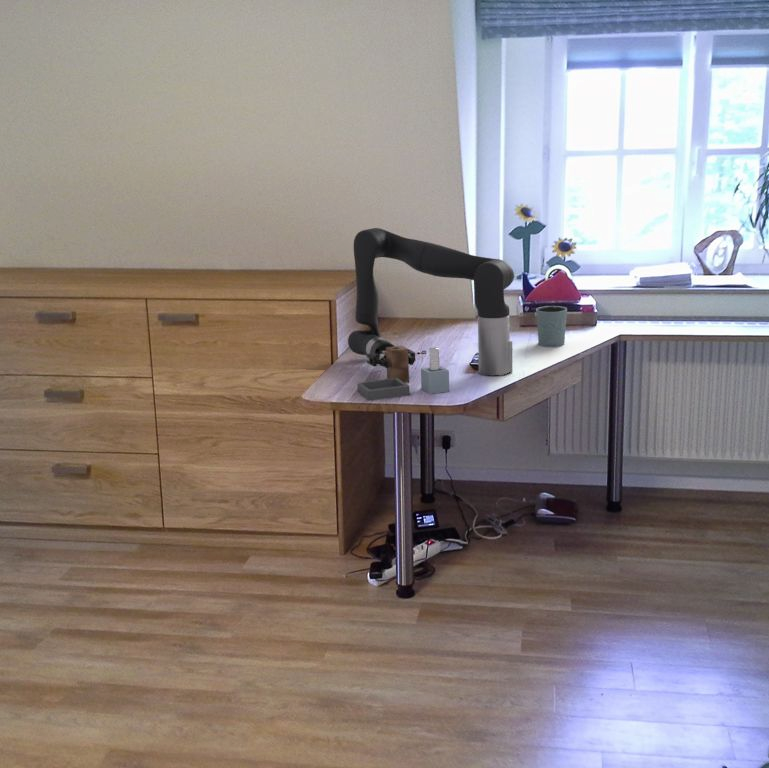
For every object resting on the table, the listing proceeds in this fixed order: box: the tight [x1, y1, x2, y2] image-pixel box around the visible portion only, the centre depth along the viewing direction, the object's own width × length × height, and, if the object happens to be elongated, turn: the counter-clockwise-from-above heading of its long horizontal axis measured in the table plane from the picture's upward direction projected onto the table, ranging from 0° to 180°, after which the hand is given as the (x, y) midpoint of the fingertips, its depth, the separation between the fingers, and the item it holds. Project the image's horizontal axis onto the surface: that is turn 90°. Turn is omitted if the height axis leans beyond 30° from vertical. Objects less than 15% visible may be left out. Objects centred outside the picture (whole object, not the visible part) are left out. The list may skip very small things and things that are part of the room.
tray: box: [356, 378, 411, 401], centre depth 258 cm, size 12×10×2 cm
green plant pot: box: [535, 305, 568, 348], centre depth 306 cm, size 10×10×12 cm
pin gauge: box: [429, 346, 440, 372], centre depth 257 cm, size 3×3×12 cm
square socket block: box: [420, 365, 450, 395], centre depth 258 cm, size 6×6×6 cm
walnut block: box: [386, 345, 410, 383], centre depth 268 cm, size 5×5×10 cm
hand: (399, 362), depth 266 cm, fingers open, 7 cm apart
